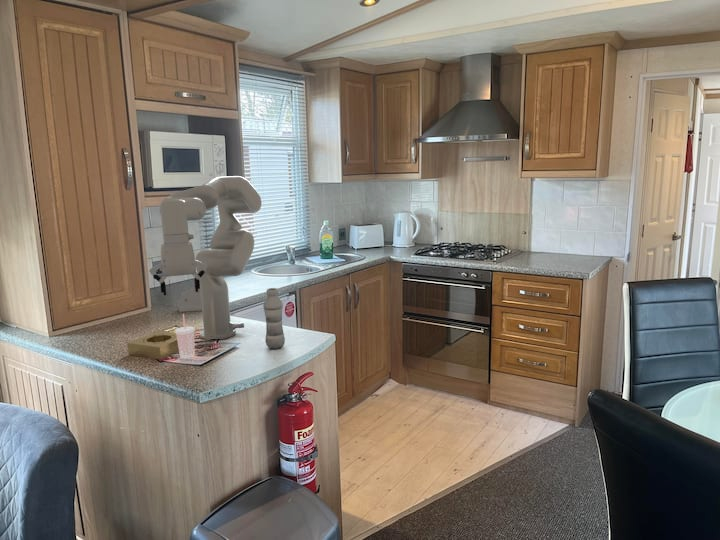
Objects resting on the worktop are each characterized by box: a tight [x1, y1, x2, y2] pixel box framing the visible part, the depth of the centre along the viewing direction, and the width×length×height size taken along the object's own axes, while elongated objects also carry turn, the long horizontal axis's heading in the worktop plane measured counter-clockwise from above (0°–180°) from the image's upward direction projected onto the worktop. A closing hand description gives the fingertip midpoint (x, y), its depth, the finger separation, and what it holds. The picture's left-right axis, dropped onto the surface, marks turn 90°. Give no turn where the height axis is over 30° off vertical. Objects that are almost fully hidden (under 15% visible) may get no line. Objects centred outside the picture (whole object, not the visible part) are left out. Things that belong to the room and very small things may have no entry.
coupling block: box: [126, 330, 179, 360], centre depth 178 cm, size 14×14×4 cm
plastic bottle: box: [263, 287, 286, 349], centre depth 176 cm, size 6×7×20 cm
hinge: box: [178, 288, 202, 313], centre depth 231 cm, size 17×5×10 cm, turn 100°
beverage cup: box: [174, 313, 196, 359], centre depth 171 cm, size 6×6×14 cm
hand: (181, 292), depth 168 cm, fingers open, 9 cm apart
